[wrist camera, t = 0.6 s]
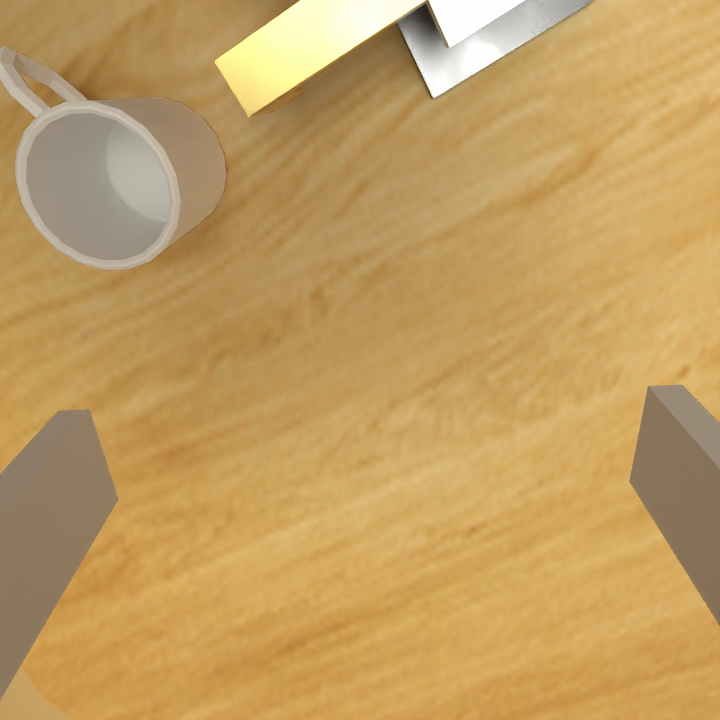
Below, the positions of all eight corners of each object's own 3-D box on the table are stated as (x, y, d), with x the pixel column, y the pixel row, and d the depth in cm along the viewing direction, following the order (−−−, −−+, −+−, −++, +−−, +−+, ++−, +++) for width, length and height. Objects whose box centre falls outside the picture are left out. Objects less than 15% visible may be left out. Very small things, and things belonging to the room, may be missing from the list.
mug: (113, 7, 33) (15, -22, 24) (252, 177, 37) (212, 207, 28) (26, 100, 35) (-91, 105, 27) (166, 251, 39) (104, 300, 30)
